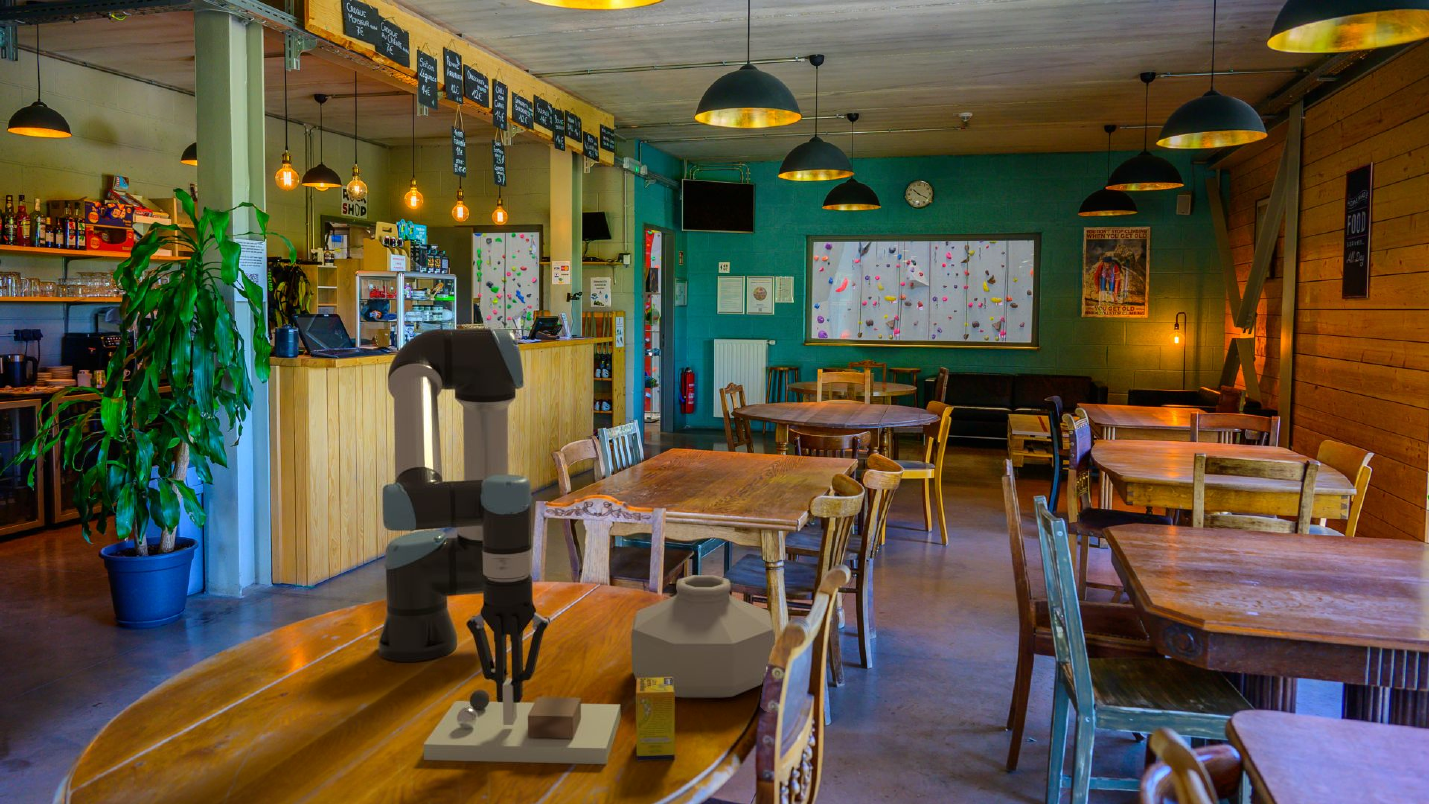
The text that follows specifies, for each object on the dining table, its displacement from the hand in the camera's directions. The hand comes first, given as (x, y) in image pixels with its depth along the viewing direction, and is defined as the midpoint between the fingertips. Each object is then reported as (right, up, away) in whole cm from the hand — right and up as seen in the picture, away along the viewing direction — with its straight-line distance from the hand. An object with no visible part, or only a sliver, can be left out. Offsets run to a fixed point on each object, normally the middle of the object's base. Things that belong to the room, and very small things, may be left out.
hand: (510, 721), depth 152 cm
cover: (+7, -1, 0) cm, 7 cm away
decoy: (-7, +1, +7) cm, 10 cm away
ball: (-7, 0, 0) cm, 7 cm away
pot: (+30, -1, +28) cm, 41 cm away
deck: (+2, -4, +2) cm, 5 cm away
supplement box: (+23, -4, -2) cm, 23 cm away
